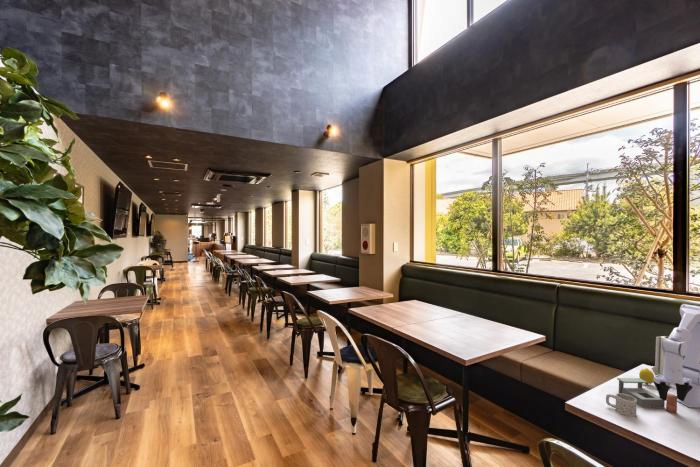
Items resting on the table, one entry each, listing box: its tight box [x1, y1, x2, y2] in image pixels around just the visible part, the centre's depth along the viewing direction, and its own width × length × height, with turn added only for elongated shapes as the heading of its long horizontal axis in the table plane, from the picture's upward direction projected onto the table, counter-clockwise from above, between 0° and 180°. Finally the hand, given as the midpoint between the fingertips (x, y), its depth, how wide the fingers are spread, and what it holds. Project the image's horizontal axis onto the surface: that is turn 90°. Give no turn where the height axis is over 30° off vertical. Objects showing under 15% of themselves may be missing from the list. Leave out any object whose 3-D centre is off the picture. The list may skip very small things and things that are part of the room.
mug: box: [605, 392, 638, 418], centre depth 136 cm, size 10×7×7 cm
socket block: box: [616, 377, 666, 409], centre depth 145 cm, size 11×12×7 cm
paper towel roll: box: [654, 335, 669, 375], centre depth 168 cm, size 7×6×21 cm
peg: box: [665, 393, 678, 415], centre depth 136 cm, size 3×3×7 cm
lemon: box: [638, 368, 655, 385], centre depth 160 cm, size 6×6×8 cm
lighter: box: [650, 365, 671, 388], centre depth 161 cm, size 7×2×8 cm, turn 42°
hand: (671, 399), depth 136 cm, fingers open, 7 cm apart
